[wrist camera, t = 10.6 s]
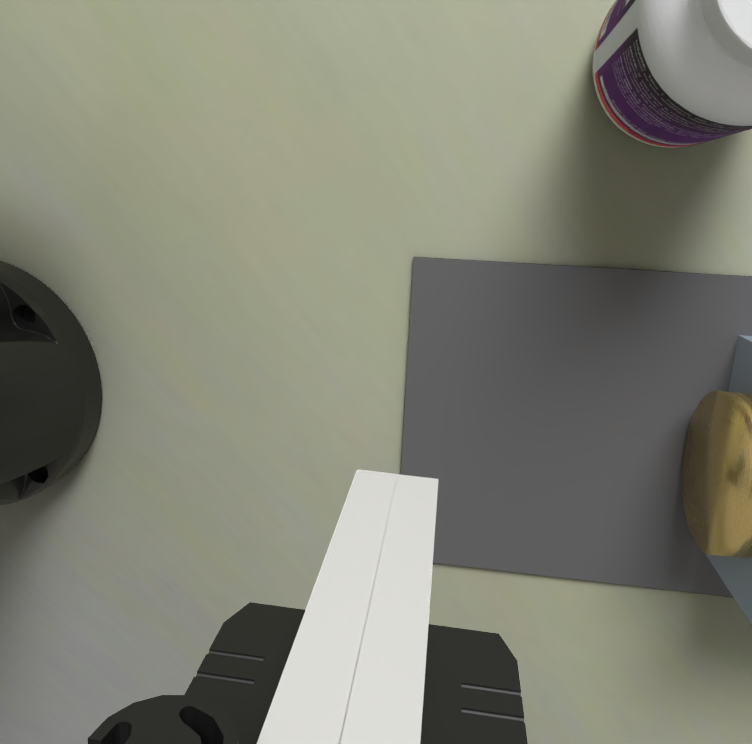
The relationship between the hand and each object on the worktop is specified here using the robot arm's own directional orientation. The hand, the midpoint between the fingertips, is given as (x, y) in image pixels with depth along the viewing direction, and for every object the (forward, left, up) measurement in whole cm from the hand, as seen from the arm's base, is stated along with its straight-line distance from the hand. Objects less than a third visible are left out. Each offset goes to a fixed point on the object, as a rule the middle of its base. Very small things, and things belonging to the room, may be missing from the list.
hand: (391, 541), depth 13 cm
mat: (+12, -6, -26) cm, 29 cm away
